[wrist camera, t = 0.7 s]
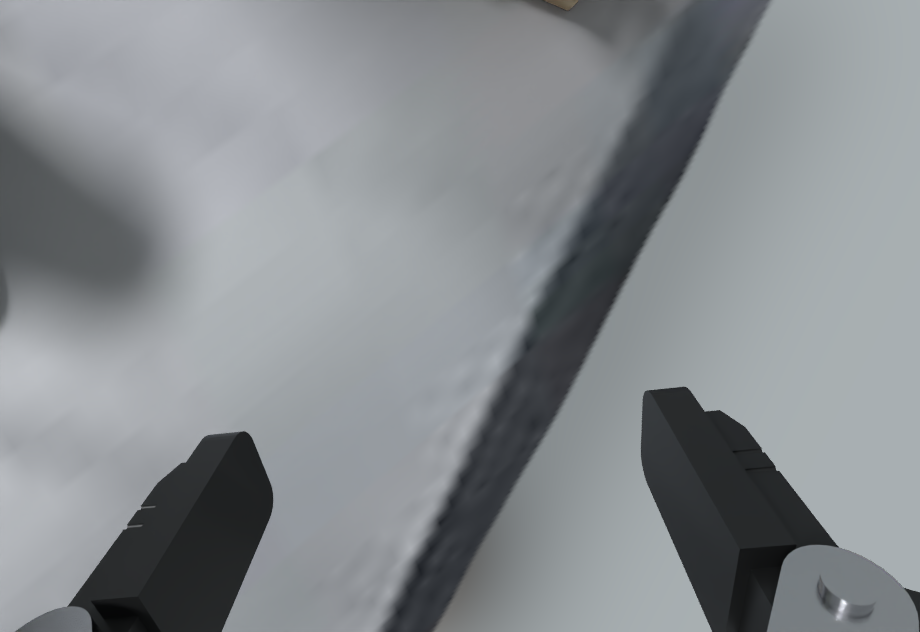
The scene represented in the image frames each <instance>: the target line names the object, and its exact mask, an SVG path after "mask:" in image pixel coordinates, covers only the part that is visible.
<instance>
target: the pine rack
mask: <svg viewBox="0 0 920 632" xmlns="http://www.w3.org/2000/svg"><path fill="white" fill-rule="evenodd" d="M544 1H546V2H549V3H551V4H553V5H555V6H558V7H560V8H562V9H565V10H567V11H569V10H570V9H571V8H572V7H573V6H574V5H575V4H576V3H577V2H578V0H544Z"/></svg>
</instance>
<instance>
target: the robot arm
mask: <svg viewBox="0 0 920 632" xmlns="http://www.w3.org/2000/svg"><path fill="white" fill-rule="evenodd" d="M641 459H642V466H643V471H644V475H645V478H646V481H647V484H648V486H649V488H650V491H651V493H652V495H653V498H654V500H655V502H656V504H657V507H658V509H659V511H660V513H661V516H662V518H663V520H664V523H665V525H666V527H667V529H668V532H669V534H670V536H671V539H672V540H673V543H674V545H675V547H676V550H677V552H678V554H679V557H680V559H681V561H682V564H683V565H684V568H685V570H686V573H687V575H688V577H689V579H690V582H691V584H692V586H693V589H694V591H695V593H696V596H697V598H698V600H699V602H700V605H701V607H702V609H703V611H704V614H705V616H706V618H707V620H708V623H709V625H710V627H711V630H712V632H920V592H916V591H912V590H909V589H906V588H903V587H902V585H901V584H900V583H898V582H897V581H896V579H895V578H894V577H893V576H891V575H890V574H889V573H887V572H886V571H885V570H884V569H882V568H881V567H880V566H878V565H876V564H875V563H873V562H872V561H870V560H868V559H866V558H864V557H862V556H860V555H858V554H856V553H853V552H851V551H848V550H845V549H842V548H839V547H838V546H837V545H836V543H835V542H834V541H833V540H832V539H831V537H830V536H829V535H828V533H827V532H826V531H825V529H824V528H823V527H822V526H821V524H820V523H819V522H818V521H817V519H816V518H815V517H814V515H813V514H812V513H811V511H810V510H809V509H808V508H807V506H806V505H805V504H804V502H803V501H802V500H801V499H800V497H799V496H798V495H797V493H796V492H795V491H794V489H793V488H792V487H791V486H790V484H789V483H788V482H787V480H786V479H785V478H784V477H783V475H782V474H781V473H780V471H776V468H775V465H774V464H773V462H772V461H771V460H770V459H769V457H768V456H767V455H766V453H763V452H762V450H761V447H760V446H759V444H758V443H757V442H756V441H755V439H754V438H753V437H752V435H751V434H750V433H749V432H748V430H747V429H746V428H745V427H744V426H743V425H741V424H740V423H738V422H737V421H735V420H734V419H732V418H730V417H729V416H728V415H726V414H725V413H723V412H722V411H720V410H717V411H707V412H704V410H703V408H702V407H701V406H700V404H699V403H698V401H697V400H696V398H695V397H694V396H693V394H692V393H691V391H690V390H689V389H688V388H686V387H678V388H669V389H658V390H649V391H645V393H644V396H643V411H642V437H641ZM272 508H273V491H272V487H271V484H270V481H269V479H268V476H267V474H266V471H265V469H264V466H263V464H262V461H261V459H260V457H259V454H258V452H257V449H256V447H255V444H254V442H253V439H252V437H251V436H250V435H249V434H248V433H247V432H244V431H243V432H234V433H224V434H214V435H208V436H206V437H204V438H203V439H202V440H201V442H200V443H199V445H198V446H197V447H196V449H195V450H194V452H193V453H192V455H191V456H190V458H189V459H188V460H187V462H186V463H181V464H180V465H178V466H177V467H176V468H175V469H174V470H173V471H171V472H170V473H169V474H168V475H167V476H166V477H164V478H163V479H162V480H161V481H160V482H158V483H157V485H156V486H155V487H154V489H153V490H152V492H151V493H150V494H149V496H148V497H147V498H146V500H145V501H144V502H143V504H142V505H141V510H138V511H137V512H136V513H135V515H134V516H133V518H132V519H131V520H130V522H129V523H128V524H127V525H128V528H127V529H126V530H123V531H122V533H121V534H120V535H119V537H118V538H117V540H116V541H115V542H114V544H113V545H112V546H111V548H110V549H109V550H108V552H107V553H106V555H105V556H104V557H103V559H102V560H101V561H100V563H99V564H98V566H97V567H96V568H95V570H94V571H93V572H92V574H91V575H90V577H89V578H88V579H87V581H86V582H85V583H84V585H83V586H82V588H81V589H80V590H79V592H78V593H77V594H76V596H75V597H74V599H73V600H72V601H71V603H70V604H69V605H68V606H67V607H62V608H59V609H55V610H52V611H50V612H47V613H45V614H43V615H41V616H39V617H37V618H35V619H33V620H32V621H30V622H28V623H27V624H25V625H24V626H22V627H21V628H19V629H18V630H17V631H15V632H222V629H223V627H224V625H225V622H226V620H227V618H228V615H229V613H230V611H231V608H232V606H233V603H234V601H235V599H236V596H237V594H238V592H239V589H240V587H241V585H242V582H243V580H244V578H245V575H246V573H247V571H248V568H249V566H250V564H251V561H252V559H253V556H254V554H255V552H256V549H257V547H258V545H259V542H260V540H261V538H262V535H263V533H264V531H265V528H266V526H267V524H268V521H269V519H270V516H271V513H272Z"/></svg>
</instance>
